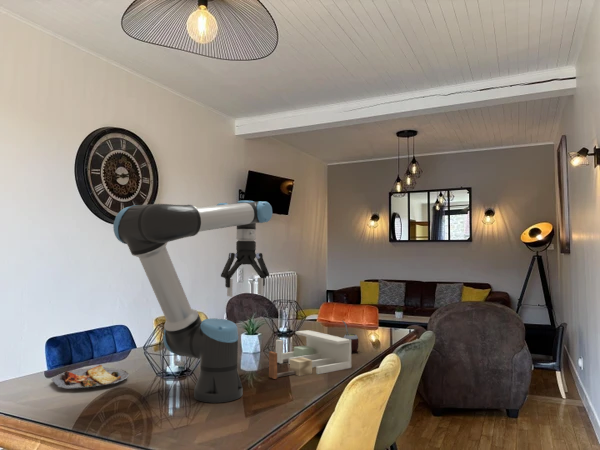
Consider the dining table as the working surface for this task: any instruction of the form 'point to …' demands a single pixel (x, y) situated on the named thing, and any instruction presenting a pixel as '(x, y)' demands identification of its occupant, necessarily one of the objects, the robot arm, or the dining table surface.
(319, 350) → the lane rack
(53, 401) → the dining table surface
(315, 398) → the dining table surface
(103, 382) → the food plate
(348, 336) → the mate gourd
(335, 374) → the dining table surface
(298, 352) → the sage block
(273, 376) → the birch block
